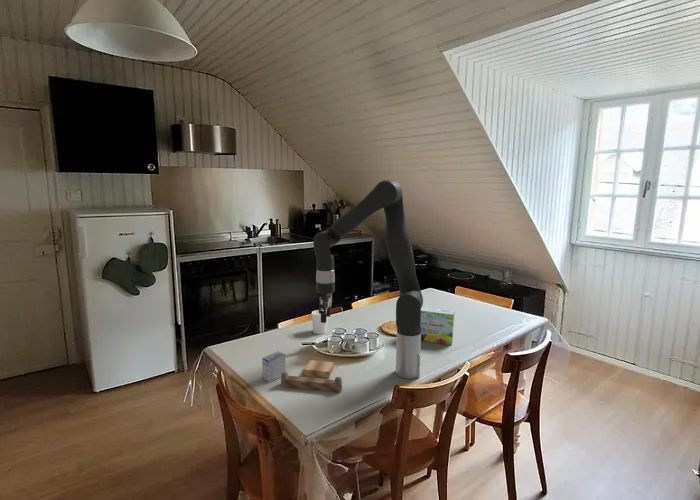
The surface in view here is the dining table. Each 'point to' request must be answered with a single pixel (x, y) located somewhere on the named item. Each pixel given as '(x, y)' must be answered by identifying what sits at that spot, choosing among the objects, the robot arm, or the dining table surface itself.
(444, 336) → the snack box
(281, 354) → the medicine box
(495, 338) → the dining table surface
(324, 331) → the white cup
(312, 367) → the light wooden block
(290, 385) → the bar
